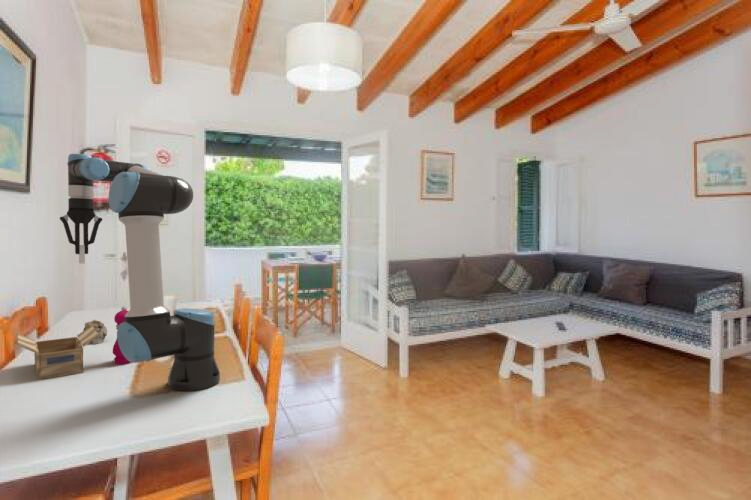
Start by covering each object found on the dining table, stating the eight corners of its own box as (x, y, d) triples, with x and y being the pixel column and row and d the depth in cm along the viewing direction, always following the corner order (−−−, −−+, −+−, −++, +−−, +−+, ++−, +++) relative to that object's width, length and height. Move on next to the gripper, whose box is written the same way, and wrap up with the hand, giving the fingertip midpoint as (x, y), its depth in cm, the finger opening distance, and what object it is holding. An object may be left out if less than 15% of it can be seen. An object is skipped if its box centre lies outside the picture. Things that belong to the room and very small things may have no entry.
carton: (83, 372, 142) (83, 348, 141) (37, 380, 134) (36, 355, 133) (76, 358, 156) (76, 336, 156) (34, 364, 148) (34, 341, 148)
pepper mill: (125, 365, 149) (125, 308, 148) (107, 364, 151) (107, 307, 150) (140, 359, 157) (140, 305, 155) (123, 357, 158) (123, 303, 157)
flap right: (82, 345, 142) (83, 346, 142) (98, 335, 145) (99, 335, 145) (76, 335, 155) (77, 336, 155) (92, 325, 157) (92, 326, 158)
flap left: (18, 343, 131) (17, 345, 131) (36, 351, 134) (36, 353, 134) (17, 332, 144) (16, 333, 144) (34, 340, 147) (33, 341, 147)
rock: (112, 339, 178) (105, 316, 178) (94, 344, 173) (87, 320, 173) (103, 342, 186) (96, 320, 186) (85, 348, 181) (79, 325, 181)
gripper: (100, 199, 162) (101, 261, 164) (57, 197, 154) (58, 262, 155) (104, 198, 157) (104, 263, 158) (59, 196, 148) (60, 264, 149)
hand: (81, 263), depth 157 cm, fingers closed
